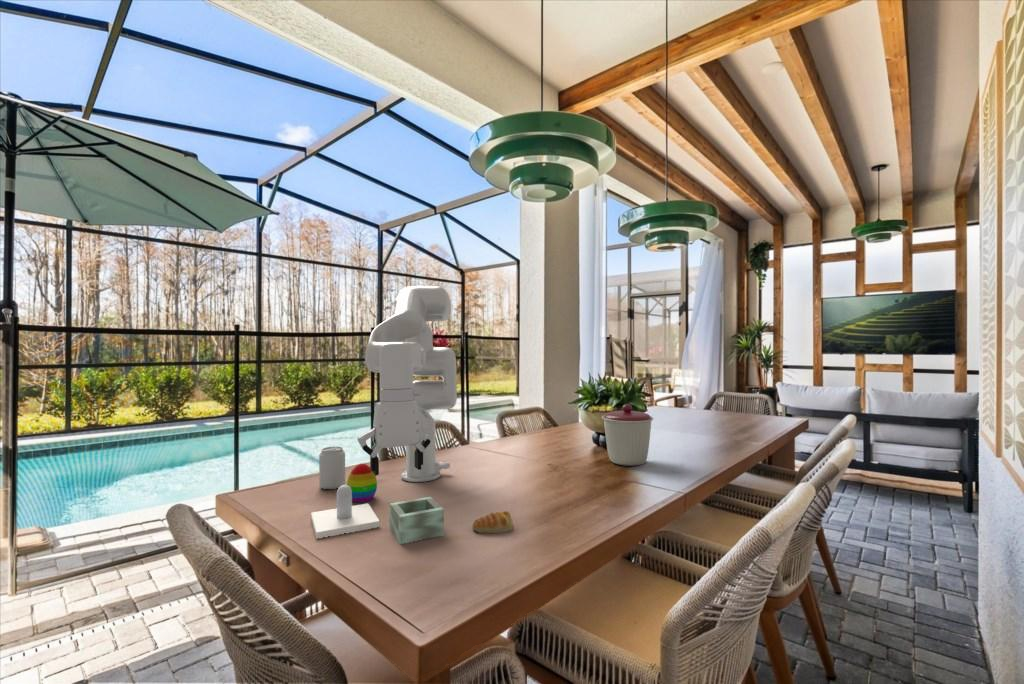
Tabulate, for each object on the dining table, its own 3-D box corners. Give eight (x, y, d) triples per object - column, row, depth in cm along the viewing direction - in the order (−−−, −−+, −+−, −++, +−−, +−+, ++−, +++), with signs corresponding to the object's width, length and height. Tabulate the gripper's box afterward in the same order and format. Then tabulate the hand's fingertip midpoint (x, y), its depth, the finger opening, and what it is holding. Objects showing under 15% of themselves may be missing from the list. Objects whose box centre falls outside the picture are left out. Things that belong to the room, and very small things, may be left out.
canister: (623, 471, 159) (622, 409, 159) (592, 459, 175) (591, 402, 175) (664, 465, 166) (664, 405, 166) (631, 454, 183) (631, 400, 183)
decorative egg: (373, 503, 130) (373, 467, 130) (343, 504, 129) (342, 468, 129) (379, 494, 138) (379, 459, 138) (351, 494, 137) (351, 460, 137)
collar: (430, 520, 117) (430, 496, 117) (443, 535, 108) (443, 509, 108) (389, 528, 112) (389, 503, 112) (400, 544, 103) (400, 517, 103)
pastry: (477, 538, 107) (477, 521, 107) (469, 527, 113) (469, 511, 113) (515, 531, 110) (515, 515, 110) (505, 521, 117) (505, 506, 117)
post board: (368, 508, 125) (367, 474, 125) (379, 527, 113) (379, 488, 113) (311, 518, 119) (310, 481, 119) (316, 539, 107) (316, 498, 106)
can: (313, 489, 143) (313, 449, 143) (331, 482, 150) (331, 444, 150) (333, 492, 140) (332, 451, 140) (350, 484, 147) (350, 446, 147)
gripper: (428, 392, 115) (428, 463, 115) (354, 396, 107) (355, 472, 107) (438, 395, 109) (438, 470, 108) (360, 399, 101) (361, 480, 100)
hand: (397, 471), depth 108 cm, fingers open, 9 cm apart
